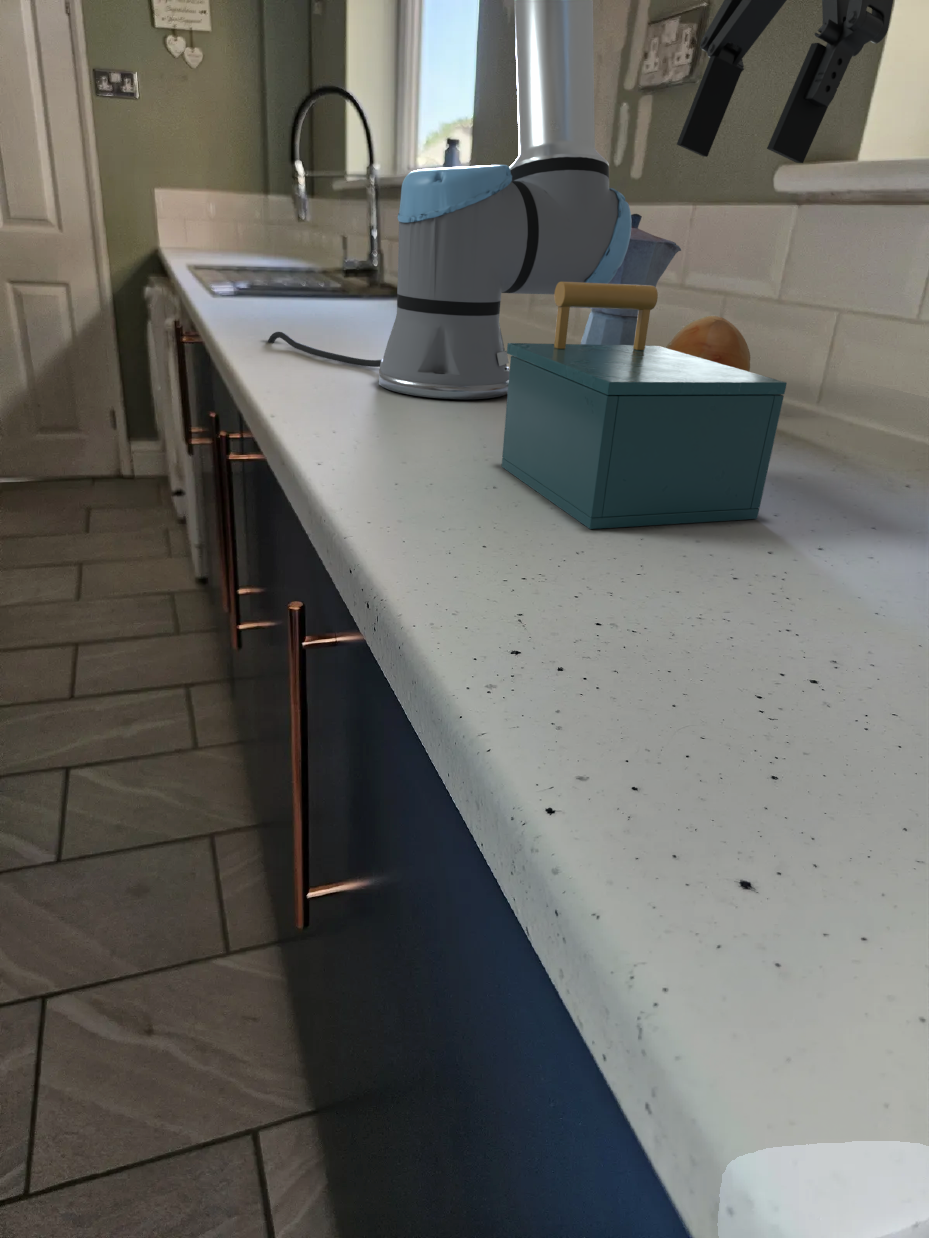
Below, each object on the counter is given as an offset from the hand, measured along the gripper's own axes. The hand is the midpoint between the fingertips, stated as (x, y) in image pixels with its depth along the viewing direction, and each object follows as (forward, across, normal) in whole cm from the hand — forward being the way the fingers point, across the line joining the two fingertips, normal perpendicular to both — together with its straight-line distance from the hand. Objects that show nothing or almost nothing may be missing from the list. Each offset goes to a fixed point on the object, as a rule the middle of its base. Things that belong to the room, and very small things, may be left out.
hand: (734, 154), depth 66 cm
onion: (+21, -23, +21) cm, 38 cm away
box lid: (+16, +9, -5) cm, 19 cm away
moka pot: (+23, -43, +19) cm, 53 cm away
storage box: (+25, +10, -3) cm, 27 cm away
